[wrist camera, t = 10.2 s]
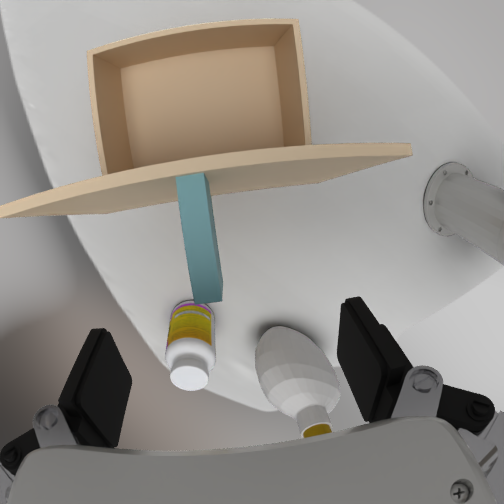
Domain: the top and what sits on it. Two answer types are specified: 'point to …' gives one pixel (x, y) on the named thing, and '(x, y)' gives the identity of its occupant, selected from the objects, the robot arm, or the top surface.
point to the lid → (205, 192)
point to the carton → (198, 92)
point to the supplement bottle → (191, 345)
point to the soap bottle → (297, 379)
